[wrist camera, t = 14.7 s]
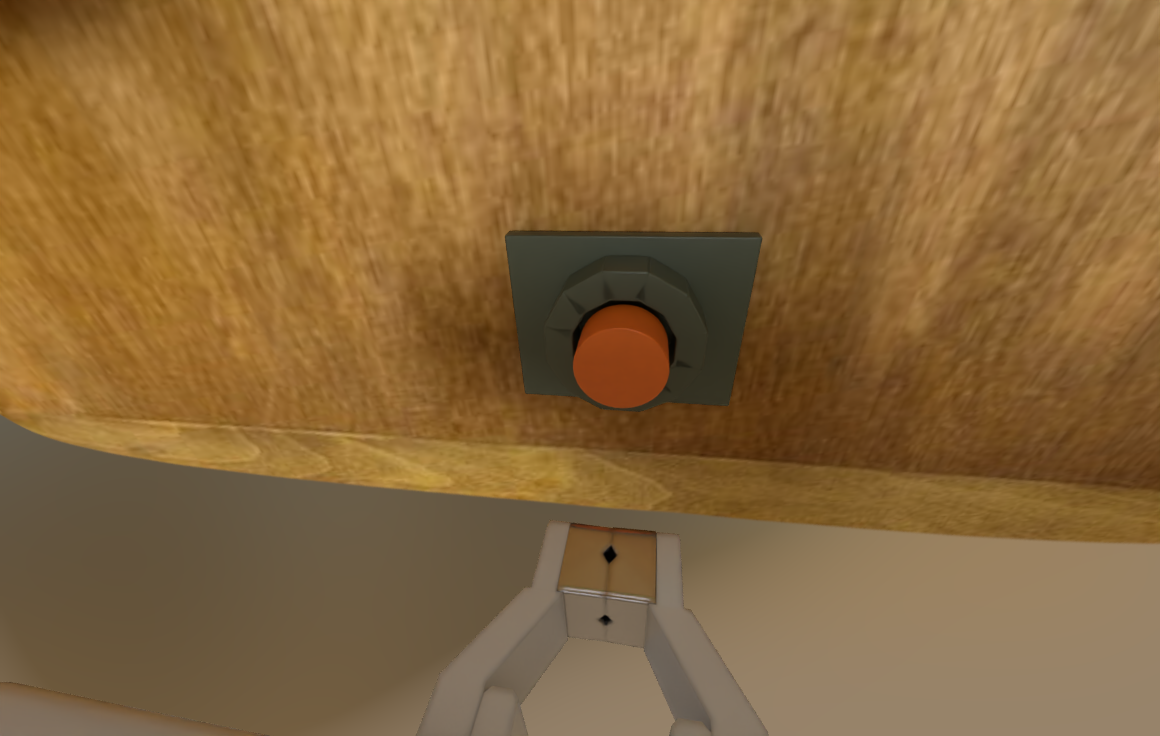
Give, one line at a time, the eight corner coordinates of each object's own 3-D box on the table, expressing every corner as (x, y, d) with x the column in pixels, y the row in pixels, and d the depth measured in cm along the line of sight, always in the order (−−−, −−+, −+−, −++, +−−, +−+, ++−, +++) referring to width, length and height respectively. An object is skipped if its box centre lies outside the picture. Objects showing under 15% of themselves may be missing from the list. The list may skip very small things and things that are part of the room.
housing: (758, 232, 16) (774, 252, 14) (726, 397, 21) (734, 432, 19) (509, 230, 18) (490, 249, 16) (528, 385, 22) (515, 416, 20)
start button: (671, 304, 16) (673, 330, 15) (664, 381, 18) (665, 411, 17) (578, 302, 17) (570, 325, 15) (581, 377, 19) (574, 405, 17)
